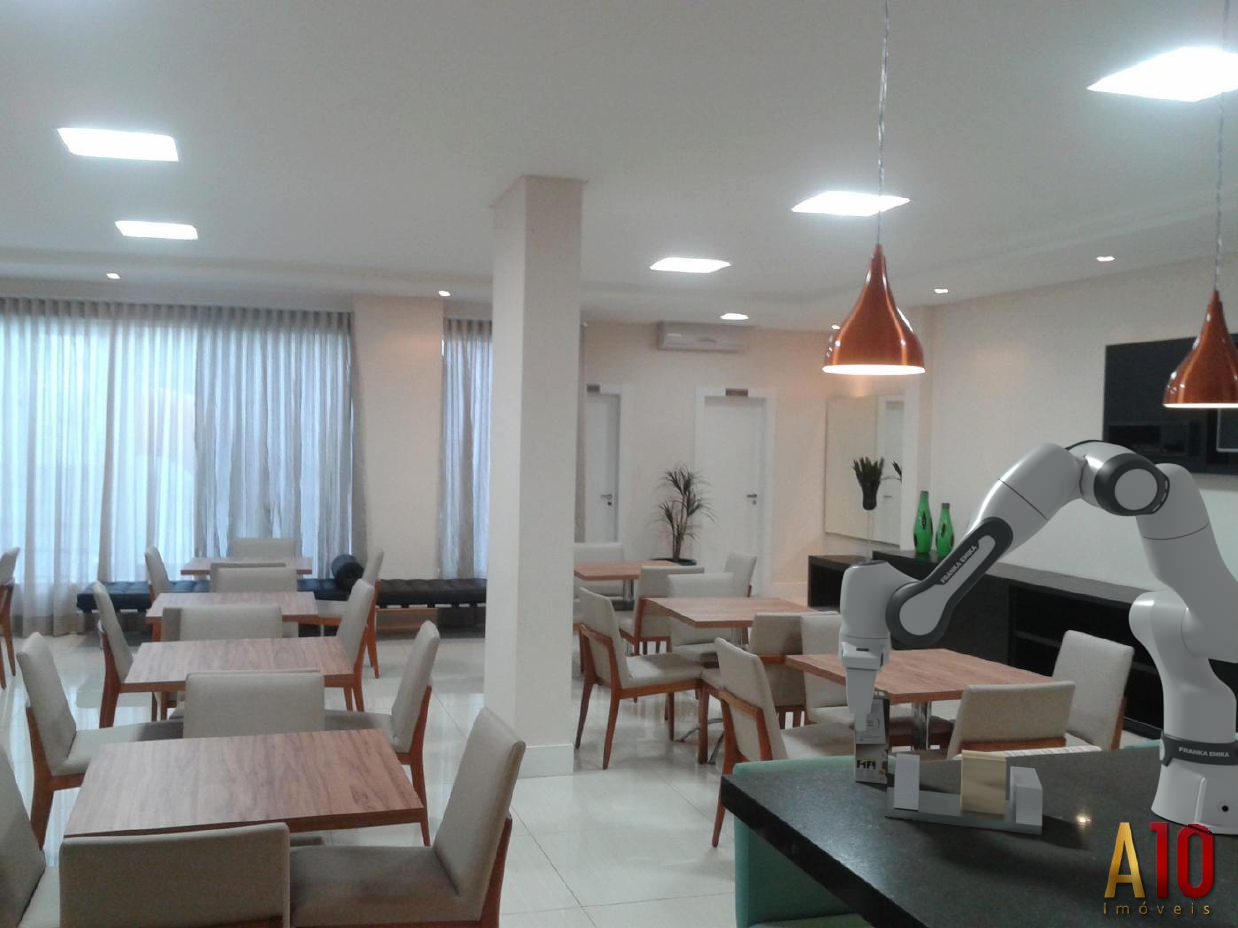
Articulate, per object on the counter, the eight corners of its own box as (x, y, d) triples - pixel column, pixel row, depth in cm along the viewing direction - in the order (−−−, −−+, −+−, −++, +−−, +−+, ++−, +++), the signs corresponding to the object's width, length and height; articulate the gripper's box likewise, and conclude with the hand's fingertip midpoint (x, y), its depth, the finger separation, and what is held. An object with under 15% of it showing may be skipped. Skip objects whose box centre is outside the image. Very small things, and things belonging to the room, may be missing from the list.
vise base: (1033, 811, 186) (1034, 768, 186) (1041, 834, 174) (1042, 788, 174) (887, 795, 193) (888, 753, 193) (884, 816, 181) (885, 772, 181)
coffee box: (888, 784, 200) (890, 698, 200) (853, 781, 201) (856, 696, 202) (886, 771, 209) (888, 689, 209) (852, 768, 210) (855, 687, 210)
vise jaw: (918, 788, 192) (919, 755, 192) (918, 809, 179) (919, 774, 179) (895, 786, 193) (896, 753, 193) (893, 807, 180) (894, 771, 180)
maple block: (960, 801, 186) (961, 749, 186) (1002, 805, 184) (1004, 753, 184) (961, 809, 181) (962, 756, 181) (1004, 814, 179) (1006, 761, 179)
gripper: (849, 641, 199) (846, 715, 199) (841, 658, 179) (838, 740, 179) (883, 644, 197) (880, 719, 197) (880, 661, 178) (876, 744, 177)
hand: (860, 729), depth 188 cm, fingers closed
